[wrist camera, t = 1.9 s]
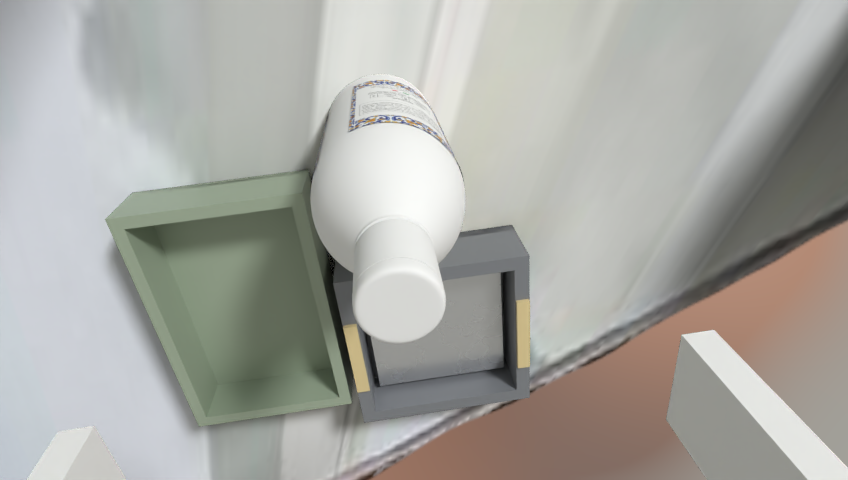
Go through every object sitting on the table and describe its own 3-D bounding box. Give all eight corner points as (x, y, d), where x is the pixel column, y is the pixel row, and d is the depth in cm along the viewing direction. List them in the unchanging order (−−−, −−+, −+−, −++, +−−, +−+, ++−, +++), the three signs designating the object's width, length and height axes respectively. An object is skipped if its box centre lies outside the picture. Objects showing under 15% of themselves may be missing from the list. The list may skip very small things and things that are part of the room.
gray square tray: (511, 225, 38) (530, 257, 33) (514, 358, 44) (530, 400, 40) (336, 249, 37) (332, 285, 33) (364, 381, 43) (364, 425, 39)
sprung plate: (497, 256, 37) (500, 261, 36) (501, 360, 42) (503, 367, 41) (360, 275, 36) (359, 281, 36) (380, 378, 41) (380, 385, 40)
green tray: (308, 169, 34) (302, 193, 30) (352, 367, 42) (351, 403, 39) (132, 192, 33) (105, 219, 30) (212, 388, 42) (199, 426, 38)
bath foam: (381, 196, 35) (397, 423, 18) (304, 126, 33) (234, 313, 15) (455, 128, 34) (554, 304, 16) (381, 47, 31) (403, 155, 13)
